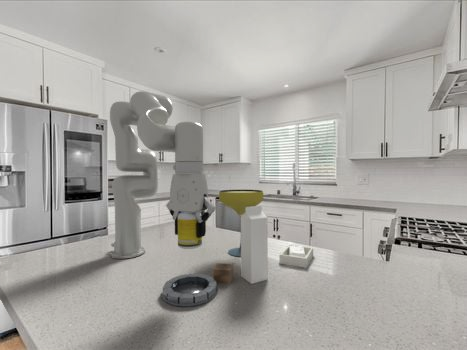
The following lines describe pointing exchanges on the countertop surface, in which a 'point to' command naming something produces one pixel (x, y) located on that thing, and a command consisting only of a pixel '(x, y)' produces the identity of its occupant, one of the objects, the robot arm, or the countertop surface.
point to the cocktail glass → (240, 205)
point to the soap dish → (296, 261)
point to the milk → (254, 245)
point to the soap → (296, 251)
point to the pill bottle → (188, 231)
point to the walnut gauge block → (223, 273)
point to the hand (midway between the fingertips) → (189, 234)
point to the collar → (189, 290)
